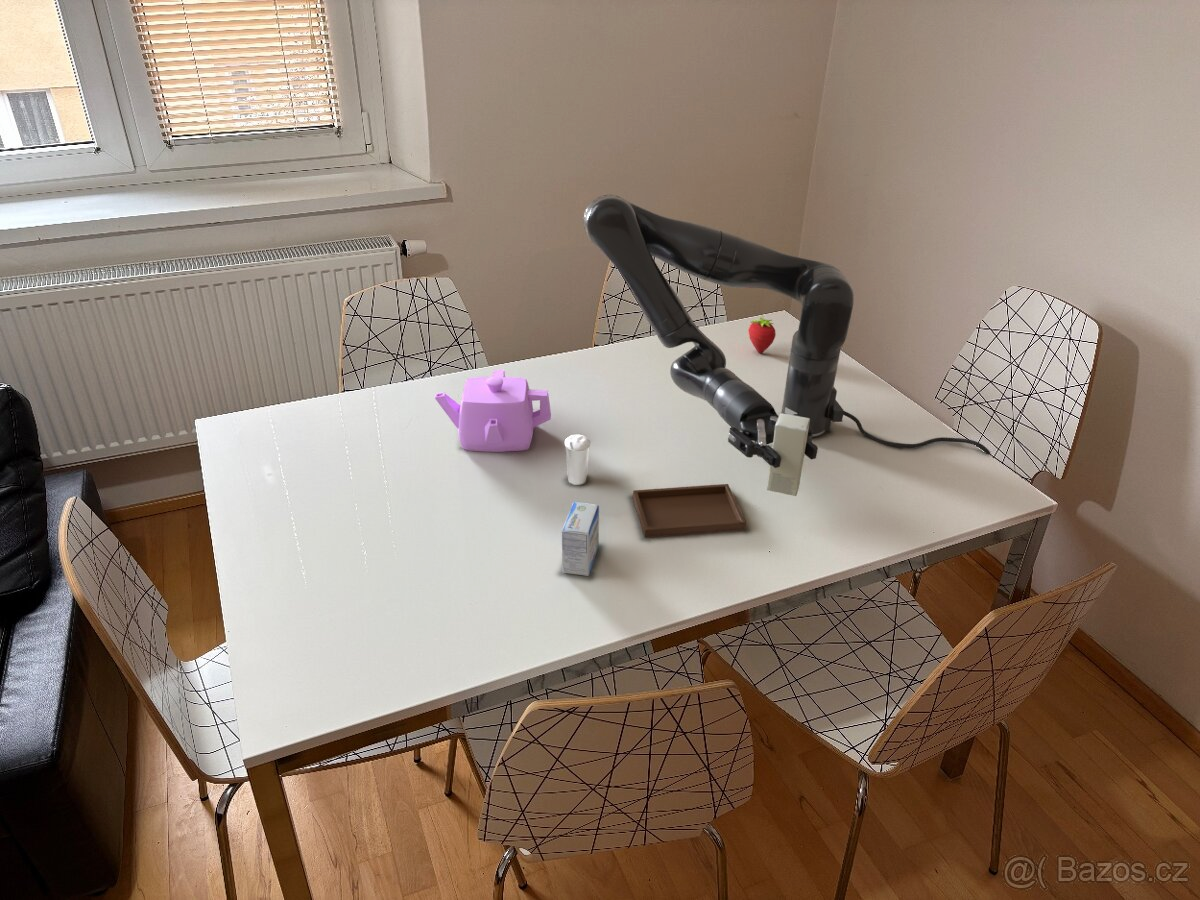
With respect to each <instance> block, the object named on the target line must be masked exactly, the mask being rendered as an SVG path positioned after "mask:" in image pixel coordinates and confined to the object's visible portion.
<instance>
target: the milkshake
mask: <svg viewBox="0 0 1200 900" xmlns="http://www.w3.org/2000/svg"><path fill="white" fill-rule="evenodd" d="M590 449H591V440H590V439H589V438H588V437H587V436H586V435H584V434H583V435H582V434H571V435H569V436H568V437H567V438H565V440H564V450H565V459H566V471H567V481H568V482H569V484H571V485H573V486H580V485H584V484H585V483H586V481H587V478H588V477H587V476H588V468H589V467H588V466H589V457H590Z"/></svg>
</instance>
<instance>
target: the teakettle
mask: <svg viewBox="0 0 1200 900" xmlns="http://www.w3.org/2000/svg"><path fill="white" fill-rule="evenodd" d="M434 399H435V401H436V403H438V405H439V406H440V407H441V409H442V410H443V411H444V413H445V414H446V416H448V417H447V418H449V419H450V421H451V422H452V424H453V425H454V426H455V428H456V429H458V440H459V443H460V446H461V448H462V450H465V451H470V452H471V451H472V452H487V453H492V452H493V453H503V452H505V453H506V452H521V451H526V450H529V449H530V446H531V444H532V440H533V435H534V434H533V433H534V429H535V428H536V427H538V426H540V425H543V424H544V423H546V422H549V421H551V419H552V409H551V404H550V395H549V390H548V389H530V386H529V383H528V380H527V378H524V377H518V376H506V372H505V369H493V371H492V375H491V376H474V377H468V378H466V381H465V383H464V387H463V391H462V396H461V402H460V404H459V403H458V402H457V401H455V400H454V399H453V398H452V397H450V396H449V395H447V393H446V392H437V393H435V395H434ZM533 401H539V409H538V410H535V411H534V405H533Z"/></svg>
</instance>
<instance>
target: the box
mask: <svg viewBox="0 0 1200 900" xmlns="http://www.w3.org/2000/svg"><path fill="white" fill-rule="evenodd" d="M778 416H779V417H778V419H777V422H776V425H775V433H774V440H773V443H772V448H773V449H774V450H775V451H776V452H777V453H778V454H779V455H780V456H781V463H780V467H778V468H774V467H773V466H771V465H769V469H768V477H767V485H766V490H767V491H770V492H772V493H773V492H774V493H779V494H784V495H788V496H793V497H797V495H798V492H799V489H800V484H801V477H802V472H803V466H804V459H805V448H806V441H807V435H808V429H809V422H810V418H805V417H800V416H794V415H789V414H782V413H781V412H780V413H779V414H778Z"/></svg>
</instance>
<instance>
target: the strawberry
mask: <svg viewBox="0 0 1200 900" xmlns="http://www.w3.org/2000/svg"><path fill="white" fill-rule="evenodd" d="M760 315H761V317H759V320H754V319H753V320H751V321H750V324H749V328H748V336H749V341H750V342H751V344H752V346H753V348H754V349H755V350H756V352H757V354H759V355H760V354H763V353H764V352H765V351H766V350H768V349H769V347H771V345H772V344H773V343H774V341H775V338H776V336H777V333H776V329H775V327H774V326H773V325H774V323H773V322H771V321H773V319H765V318H764V315H763V314H761V313H760Z"/></svg>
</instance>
